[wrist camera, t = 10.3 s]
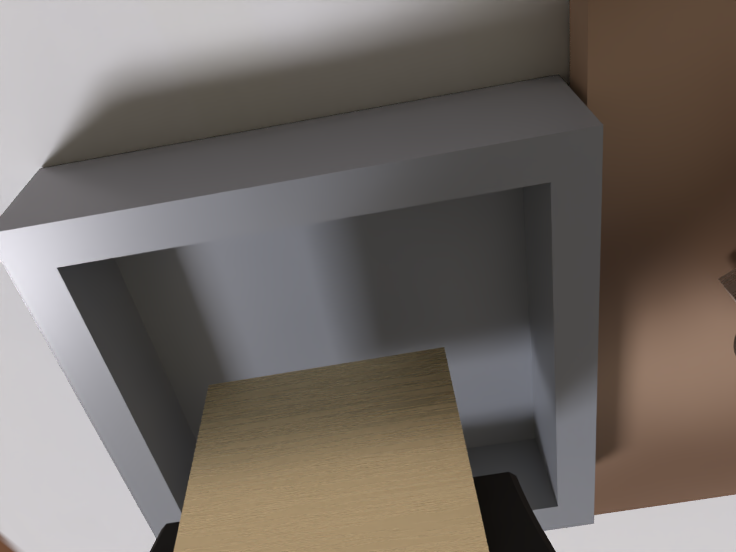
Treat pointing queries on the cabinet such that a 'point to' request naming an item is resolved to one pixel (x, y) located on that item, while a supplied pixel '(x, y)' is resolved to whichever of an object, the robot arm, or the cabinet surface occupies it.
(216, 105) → the cabinet surface
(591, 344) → the tray
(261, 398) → the stop block
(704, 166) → the crank base
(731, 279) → the crank
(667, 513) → the cabinet surface
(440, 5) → the cabinet surface
